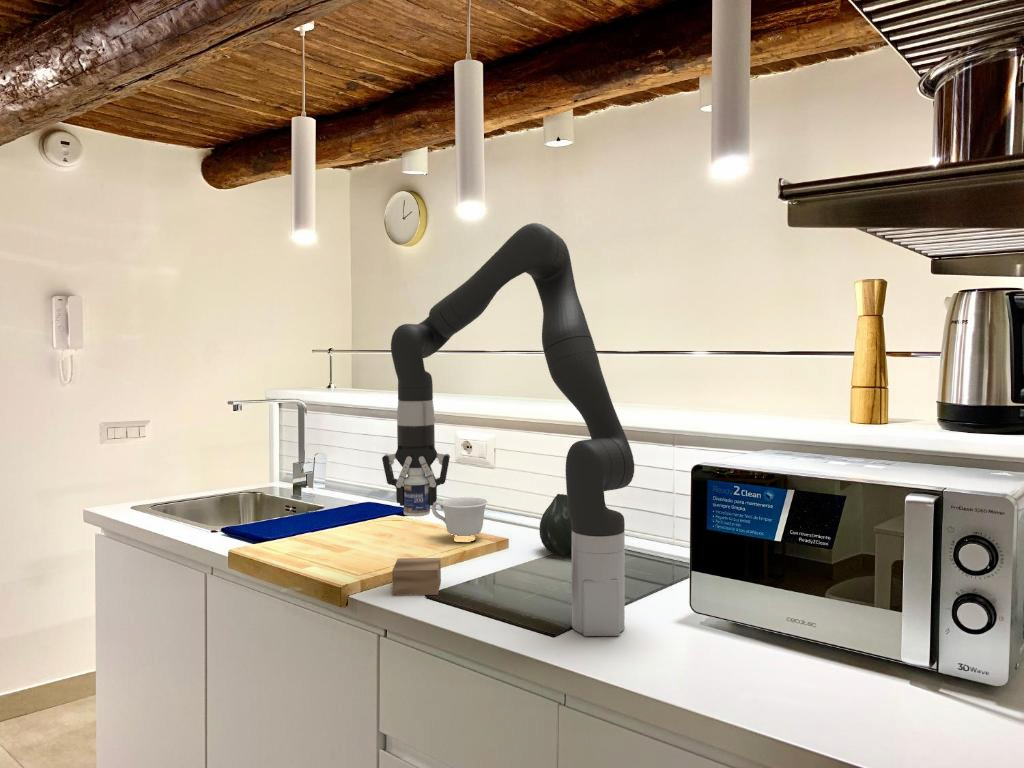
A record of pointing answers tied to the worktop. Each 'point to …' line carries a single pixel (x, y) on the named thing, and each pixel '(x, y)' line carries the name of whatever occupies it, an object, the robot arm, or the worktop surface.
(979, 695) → the worktop surface
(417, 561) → the plinth
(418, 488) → the pill bottle
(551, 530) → the squash
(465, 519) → the teacup
